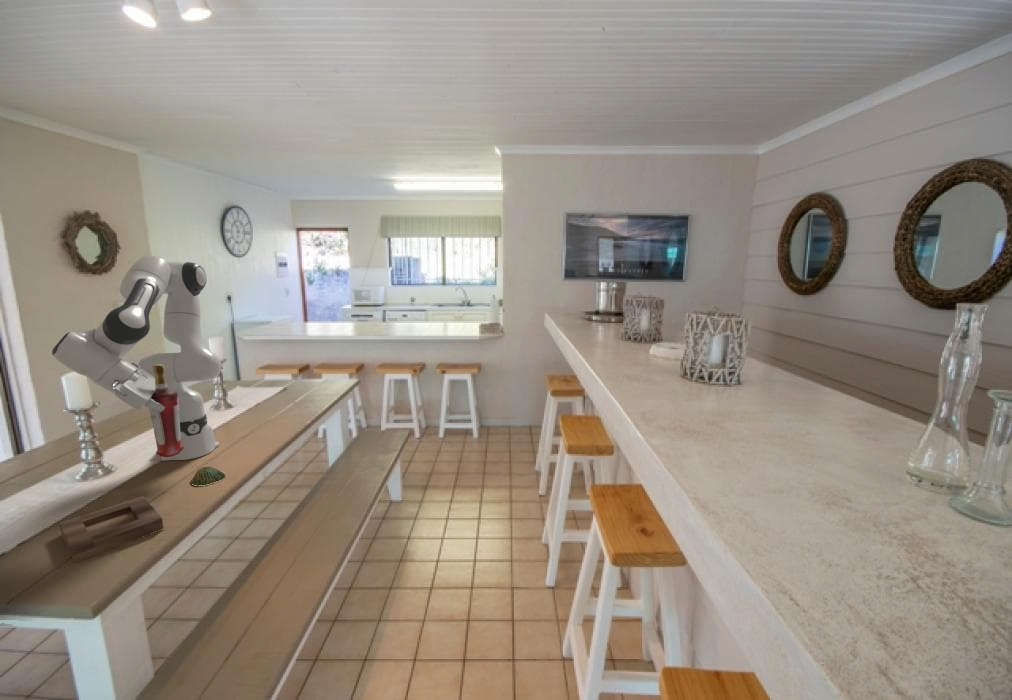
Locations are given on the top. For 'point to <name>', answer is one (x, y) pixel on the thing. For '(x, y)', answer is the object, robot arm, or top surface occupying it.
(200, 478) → the seashell
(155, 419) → the liquor
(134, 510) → the plinth
